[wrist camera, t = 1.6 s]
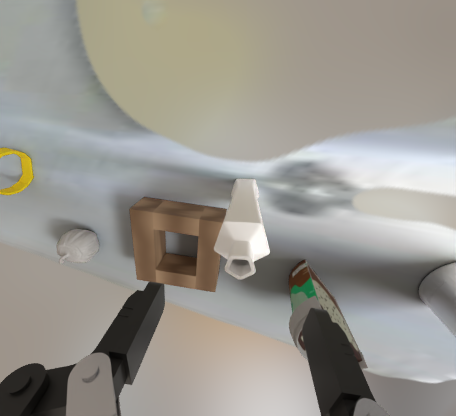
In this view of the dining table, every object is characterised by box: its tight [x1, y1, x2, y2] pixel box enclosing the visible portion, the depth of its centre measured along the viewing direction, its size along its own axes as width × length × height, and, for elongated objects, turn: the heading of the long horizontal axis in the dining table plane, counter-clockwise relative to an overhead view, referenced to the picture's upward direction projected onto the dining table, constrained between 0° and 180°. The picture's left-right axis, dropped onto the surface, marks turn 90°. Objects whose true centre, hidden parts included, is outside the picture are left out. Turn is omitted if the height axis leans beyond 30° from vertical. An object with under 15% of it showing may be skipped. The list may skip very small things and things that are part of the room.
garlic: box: [56, 229, 99, 264], centre depth 31 cm, size 6×5×5 cm
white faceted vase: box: [214, 179, 270, 280], centre depth 21 cm, size 5×4×15 cm
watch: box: [0, 148, 34, 195], centre depth 27 cm, size 6×3×6 cm, turn 162°
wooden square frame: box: [129, 197, 227, 292], centre depth 30 cm, size 12×12×4 cm
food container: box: [289, 260, 368, 369], centre depth 29 cm, size 12×6×10 cm, turn 39°
